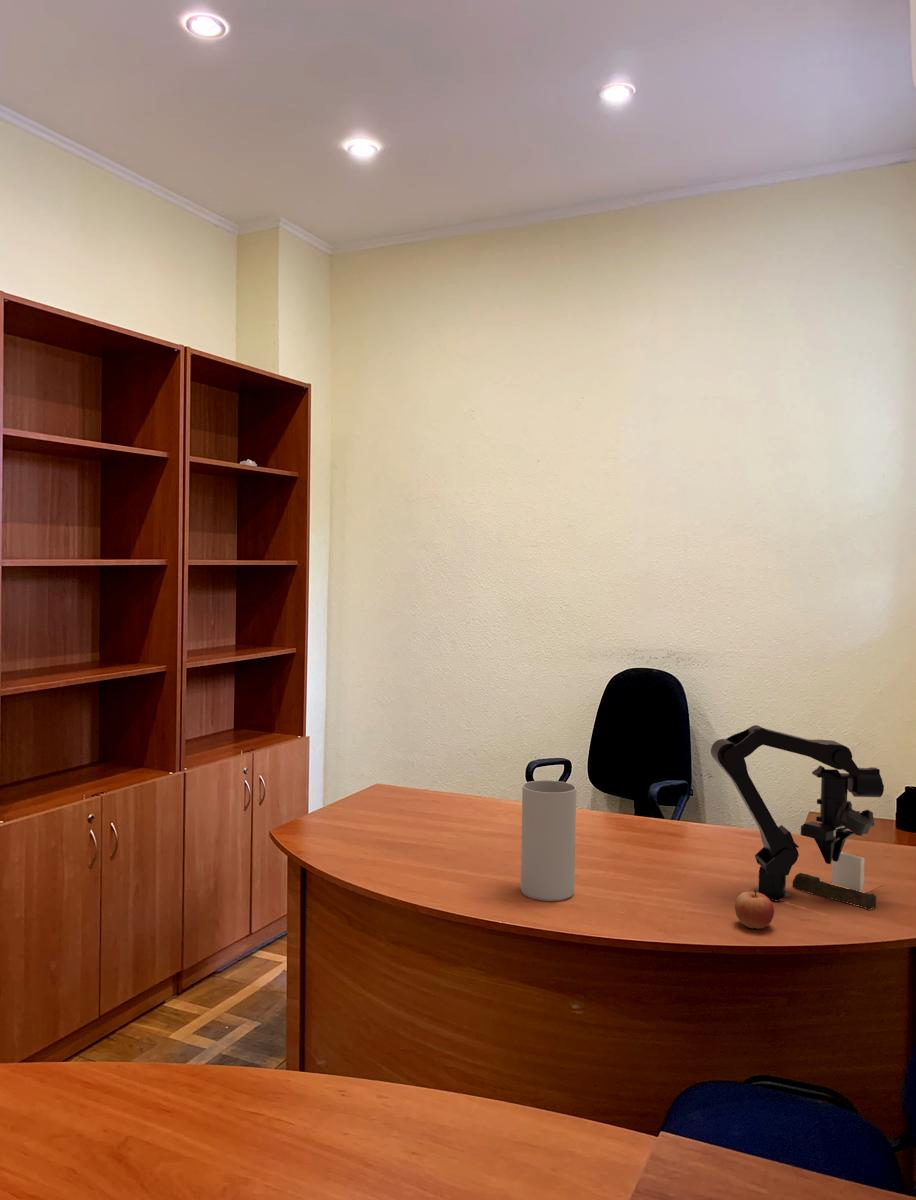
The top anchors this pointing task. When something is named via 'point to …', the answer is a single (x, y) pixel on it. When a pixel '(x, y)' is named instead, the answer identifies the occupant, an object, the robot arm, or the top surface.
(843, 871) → the tile
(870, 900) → the hand tool
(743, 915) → the apple
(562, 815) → the cylinder vase
